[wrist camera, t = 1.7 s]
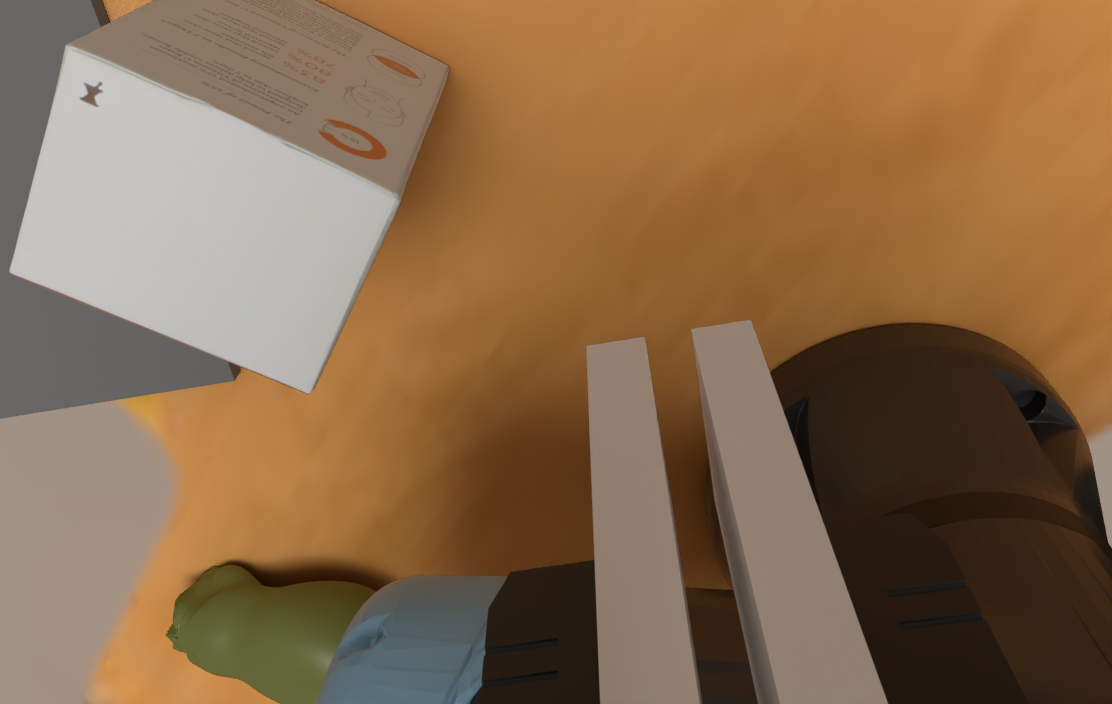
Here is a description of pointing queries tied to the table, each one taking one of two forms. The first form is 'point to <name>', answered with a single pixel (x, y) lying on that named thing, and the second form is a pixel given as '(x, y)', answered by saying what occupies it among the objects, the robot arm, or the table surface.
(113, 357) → the mat
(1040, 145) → the table surface
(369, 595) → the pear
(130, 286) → the small box
